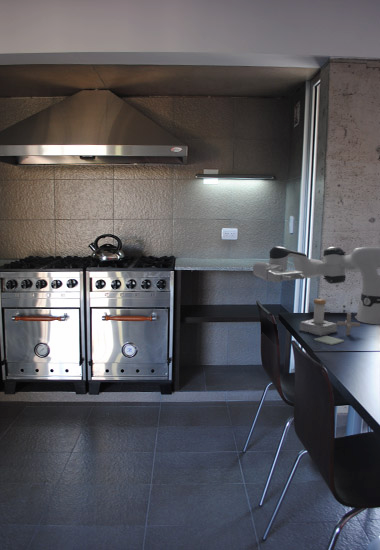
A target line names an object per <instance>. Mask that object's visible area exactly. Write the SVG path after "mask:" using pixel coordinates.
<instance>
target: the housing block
mask: <svg viewBox="0 0 380 550" xmlns="http://www.w3.org/2000/svg"><path fill="white" fill-rule="evenodd" d="M337 330H338V325H337V322H331V321H327V320H324V323H323V324H321V325H318V324H314V318H312V319H307V320H303V321H302V320H301V321H300V323H299V331H300V332H301V331H302V332H306V333H308V332H309V334H313V335H317V336H320V337H323V336H327V335H330V334H334V333H337Z"/></svg>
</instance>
